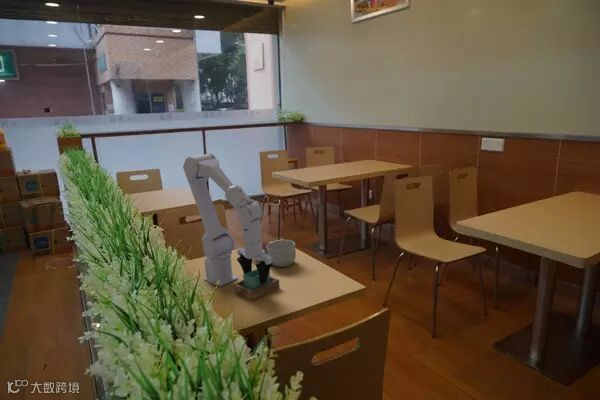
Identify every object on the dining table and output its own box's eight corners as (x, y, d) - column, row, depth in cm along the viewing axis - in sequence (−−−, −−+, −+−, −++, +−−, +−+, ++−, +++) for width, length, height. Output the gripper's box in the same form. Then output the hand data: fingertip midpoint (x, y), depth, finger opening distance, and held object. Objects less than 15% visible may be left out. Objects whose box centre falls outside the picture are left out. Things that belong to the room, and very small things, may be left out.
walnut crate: (234, 292, 132) (233, 284, 131) (260, 280, 140) (259, 272, 139) (253, 301, 126) (252, 292, 125) (279, 287, 134) (278, 279, 133)
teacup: (292, 270, 147) (291, 249, 145) (264, 269, 150) (262, 248, 148) (300, 256, 161) (299, 236, 159) (274, 255, 163) (272, 236, 161)
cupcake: (250, 255, 164) (248, 227, 161) (271, 253, 165) (269, 225, 162) (250, 263, 156) (248, 233, 153) (272, 261, 157) (270, 231, 154)
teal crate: (244, 290, 132) (243, 274, 131) (260, 282, 137) (259, 267, 136) (254, 294, 129) (253, 278, 127) (270, 286, 134) (269, 271, 132)
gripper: (277, 241, 127) (280, 281, 130) (247, 232, 136) (250, 270, 140) (260, 247, 122) (264, 289, 125) (231, 238, 131) (234, 277, 135)
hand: (256, 279), depth 132 cm, fingers open, 7 cm apart
